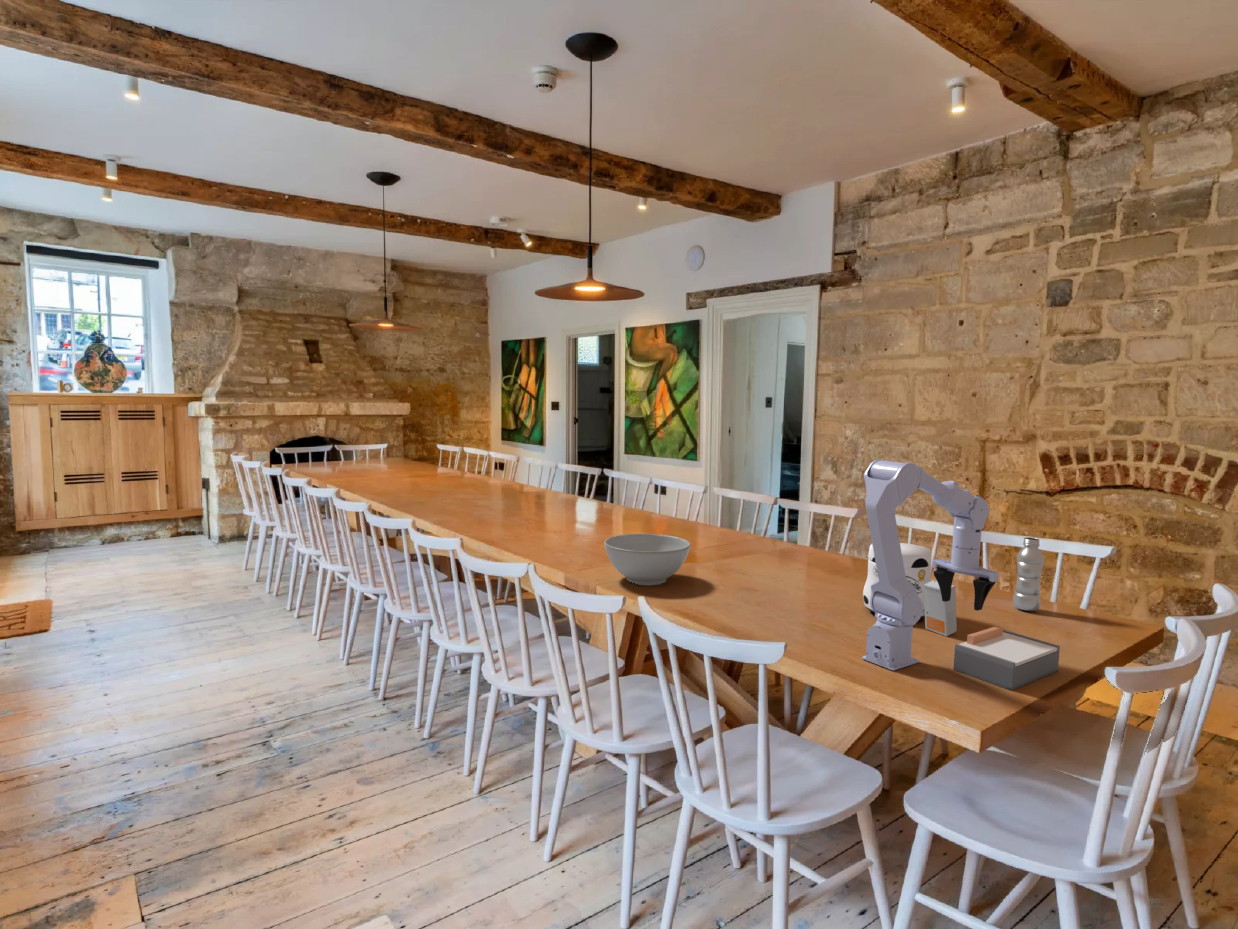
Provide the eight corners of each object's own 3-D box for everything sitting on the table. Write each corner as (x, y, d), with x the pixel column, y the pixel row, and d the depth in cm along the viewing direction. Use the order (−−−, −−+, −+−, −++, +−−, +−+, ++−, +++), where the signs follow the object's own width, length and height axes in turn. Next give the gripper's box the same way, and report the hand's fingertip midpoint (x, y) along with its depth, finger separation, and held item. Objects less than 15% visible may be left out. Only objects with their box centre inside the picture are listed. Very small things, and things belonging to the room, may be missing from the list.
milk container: (889, 626, 171) (893, 556, 170) (849, 606, 188) (852, 542, 186) (947, 621, 176) (951, 553, 174) (902, 602, 193) (906, 540, 191)
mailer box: (1011, 690, 134) (1013, 663, 134) (953, 669, 144) (955, 644, 144) (1057, 671, 144) (1059, 645, 144) (1000, 653, 154) (1002, 629, 154)
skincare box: (924, 629, 170) (922, 584, 168) (935, 624, 172) (933, 579, 170) (946, 637, 165) (945, 590, 163) (957, 631, 167) (956, 585, 165)
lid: (1016, 666, 134) (1016, 654, 134) (957, 647, 144) (958, 636, 144) (1057, 651, 143) (1058, 639, 143) (999, 634, 153) (1000, 623, 153)
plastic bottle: (1023, 605, 192) (1028, 535, 190) (1045, 612, 186) (1051, 540, 184) (1006, 607, 190) (1011, 537, 188) (1029, 614, 183) (1034, 541, 181)
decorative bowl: (689, 571, 224) (690, 535, 223) (689, 594, 197) (690, 553, 196) (608, 568, 226) (609, 532, 225) (598, 590, 200) (598, 549, 199)
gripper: (1007, 551, 152) (1002, 611, 153) (945, 539, 164) (941, 594, 165) (990, 554, 148) (986, 615, 149) (928, 542, 160) (924, 598, 161)
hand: (961, 605), depth 157 cm, fingers open, 7 cm apart
